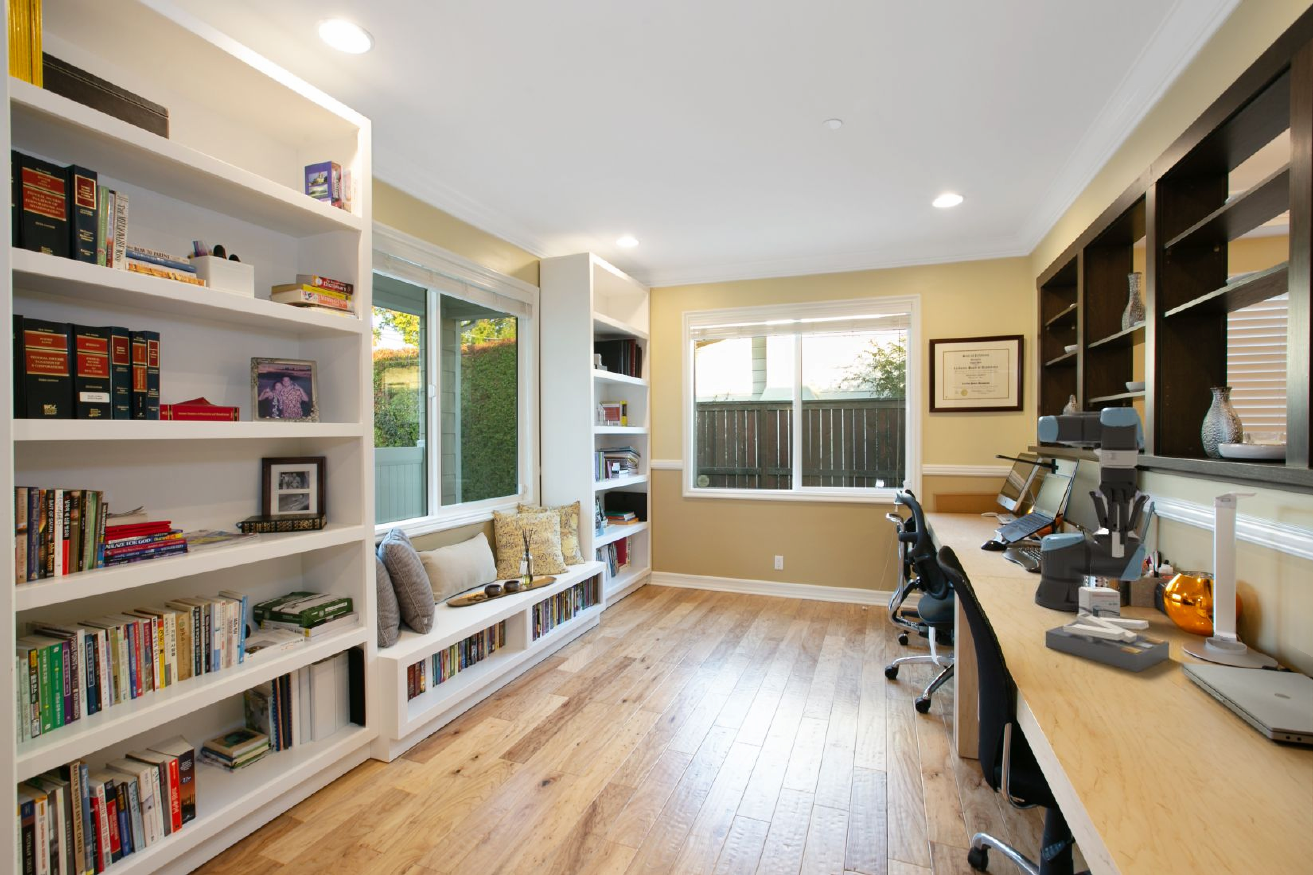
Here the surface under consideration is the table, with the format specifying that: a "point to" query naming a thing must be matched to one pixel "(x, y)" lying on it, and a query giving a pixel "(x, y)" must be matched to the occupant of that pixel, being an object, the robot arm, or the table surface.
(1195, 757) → the table surface
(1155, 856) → the table surface
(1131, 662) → the gray compartment tray
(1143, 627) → the rocker
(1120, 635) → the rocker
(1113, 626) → the rocker
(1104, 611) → the ink box
